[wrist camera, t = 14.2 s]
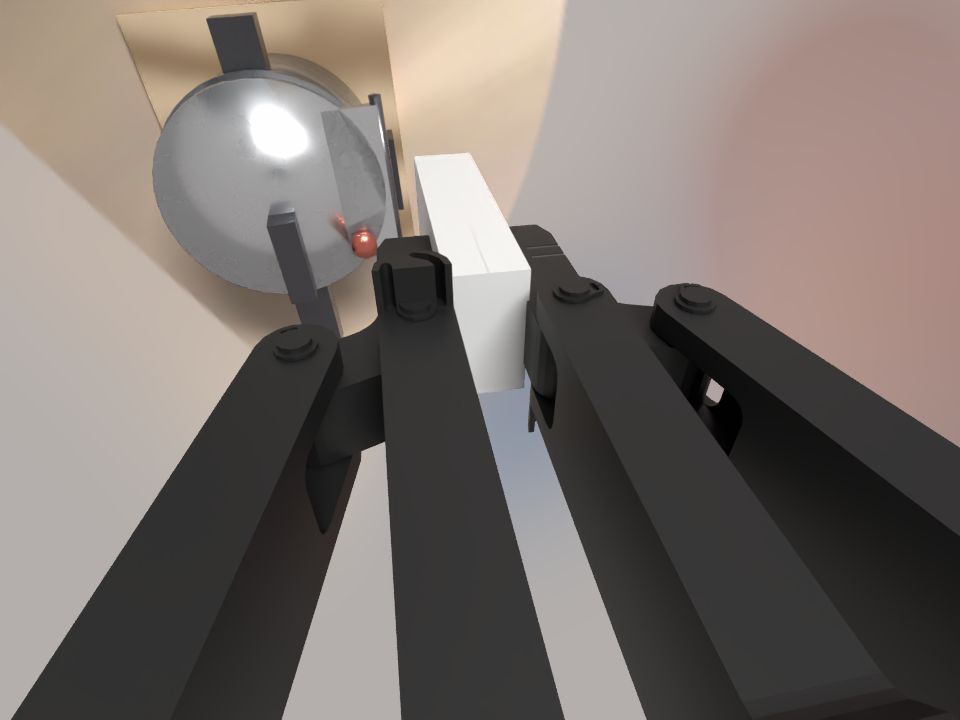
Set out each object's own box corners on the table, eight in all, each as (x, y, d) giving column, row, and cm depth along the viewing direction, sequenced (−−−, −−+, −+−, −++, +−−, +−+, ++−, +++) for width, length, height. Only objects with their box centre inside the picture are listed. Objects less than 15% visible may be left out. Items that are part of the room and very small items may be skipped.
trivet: (118, 14, 37) (115, 15, 36) (380, -7, 39) (380, -6, 38) (222, 269, 49) (220, 273, 49) (415, 244, 51) (416, 247, 51)
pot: (139, 11, 36) (88, 29, 29) (370, -7, 38) (373, 6, 31) (252, 306, 51) (236, 363, 45) (414, 283, 53) (423, 335, 46)
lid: (110, 91, 30) (97, 102, 28) (375, 62, 33) (380, 70, 31) (205, 304, 39) (200, 323, 37) (407, 268, 42) (412, 285, 40)
